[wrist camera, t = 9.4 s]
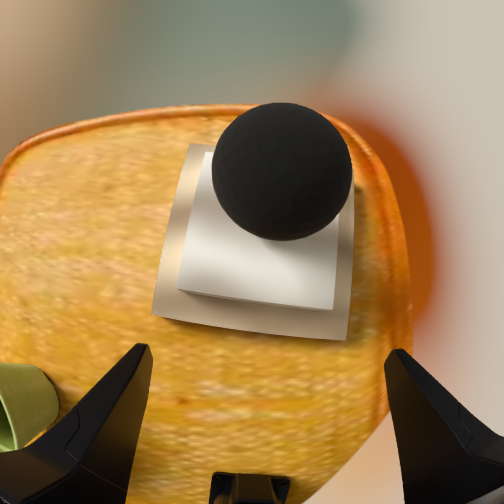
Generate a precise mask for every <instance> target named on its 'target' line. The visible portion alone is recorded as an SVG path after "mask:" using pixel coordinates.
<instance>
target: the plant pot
mask: <svg viewBox="0 0 504 504" xmlns="http://www.w3.org/2000/svg"><path fill="white" fill-rule="evenodd" d="M58 413H59V402H58V397H57V394H56V391H55V389H54V386H53V385H52V383H51V382H50V381H49V380H48V379H47V378H46V376H45V375H44V373H43V371H42V370H40V369H39V368H38V367H36V366H33V365H26V364H12V363H0V452H6V451H12V450H18V449H22V448H24V446H25V445H26V444H27V443H28V442H29V441H31V440H32V439H33V438H34V437H35V436H37V435H38V434H39V433H40V432H41V431H43V430H44V429H45V428H46V427H48V426H49V425H50V424H52V423H53V422H54V421H55V419H56V417H57V416H58Z"/></svg>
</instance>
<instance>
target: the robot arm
mask: <svg viewBox="0 0 504 504" xmlns="http://www.w3.org/2000/svg"><path fill="white" fill-rule="evenodd" d="M152 366H153V357H152V354H151V351H150V347H149V345H148V344H144V343H137V344H135V345H134V346H133V347H132V348H131V349H130V350H129V351H128V352H127V353H126V354H125V355H124V356H123V357H122V358H121V359H120V360H119V361H118V362H117V363H116V364H115V365H114V366H113V367H112V368H111V369H110V370H109V371H108V372H107V373H106V374H105V375H104V376H103V377H102V378H101V379H100V380H99V381H98V382H97V384H96V385H95V386H94V387H93V388H92V389H91V390H90V391H89V392H88V393H87V394H86V395H85V396H84V397H83V398H82V399H81V400H80V401H79V402H78V403H77V405H75V406H74V407H73V408H72V409H71V410H70V411H69V412H68V413H67V414H66V415H65V416H64V417H63V418H62V419H61V420H60V421H59V422H57V423H56V424H55V425H54V426H53V427H52V428H50V429H49V430H48V431H47V432H45V433H44V434H43V435H42V436H40V437H39V438H38V439H37V440H35V441H34V442H33V443H31V444H30V445H28V446H27V447H24V448H22V449H18V450H12V451H6V452H0V504H125V502H126V496H127V490H128V484H129V479H130V474H131V469H132V464H133V460H134V455H135V450H136V446H137V442H138V437H139V433H140V429H141V425H142V420H143V416H144V412H145V408H146V405H147V400H148V394H149V386H150V379H151V372H152ZM384 371H385V378H386V386H387V395H388V401H389V406H390V411H391V415H392V420H393V425H394V430H395V436H396V441H397V447H398V453H399V459H400V466H401V474H402V481H403V491H404V501H405V504H504V437H502V436H500V435H498V434H496V433H494V432H493V431H492V430H491V429H490V428H488V427H487V426H486V425H485V424H483V423H482V422H481V421H480V420H478V419H477V418H476V417H475V416H474V415H473V414H471V413H470V412H469V411H468V410H467V409H466V408H465V407H464V406H463V405H462V404H461V403H460V402H458V400H457V399H456V398H455V397H454V396H452V394H450V393H449V392H448V391H447V390H446V389H445V388H444V387H443V386H442V385H441V384H440V383H439V382H438V381H437V380H436V379H435V378H434V377H433V376H432V375H431V374H429V373H428V372H427V371H426V370H425V369H424V368H423V367H422V366H421V365H420V364H419V363H418V362H417V361H416V360H415V359H413V358H412V357H411V356H410V355H409V354H408V353H407V352H406V351H405V350H404V349H402V348H399V349H393V350H392V351H391V353H390V354H389V356H388V357H387V359H386V361H385V363H384ZM216 476H220V477H221V478H216ZM283 481H286V482H285V483H282V482H283ZM289 486H290V479H289V478H288V477H281V476H268V475H253V474H241V473H239V474H233V473H225V472H214V473H213V475H212V481H211V489H210V497H209V504H285V501H286V497H287V494H288V490H289Z"/></svg>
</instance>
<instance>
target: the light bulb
mask: <svg viewBox="0 0 504 504" xmlns="http://www.w3.org/2000/svg"><path fill="white" fill-rule="evenodd" d="M211 167H212V183H213V188H214V191H215V194H216V197H217V199H218V201H219V203H220V205H221V207H222V208H223V210H224V211H225V212H226V214H227V215H228V216H229V217H230V218H231V219H232V221H233V222H234V223H236V224H237V225H238V226H239V227H241V228H242V229H244V230H245V231H247V232H249V233H251V234H253V235H255V236H257V237H258V238H260V239H264V240H274V241H293V240H297V239H302V238H306V237H308V236H310V235H312V234H314V233H316V232H318V231H320V230H322V229H323V228H325V227H326V226H327V225H329V224H330V223H331V222H332V221H333V220H334V219H335V218H336V216H337V215H338V213H339V212H340V211H341V209H342V208H343V207H344V205H345V203H346V201H347V199H348V196H349V192H350V188H351V183H352V163H351V158H350V154H349V151H348V148H347V144H346V143H345V141H344V139H343V138H342V136H341V135H340V133H339V131H338V130H337V129H336V128H335V127H334V126H333V125H332V123H331V122H330V121H328V120H327V119H326V118H325V117H323V116H322V115H321V114H319V113H317V112H316V111H314V110H312V109H309V108H307V107H303V106H301V105H298V104H293V103H270V104H265V105H260V106H258V107H255V108H252V109H250V110H248V111H246V112H245V113H243V114H242V115H240V116H238V117H237V118H236V119H235V120H234V121H233V122H232V123H231V124H230V125H229V126H228V127H227V128H226V129H225V131H224V132H223V133H222V135H221V137H220V139H219V141H218V143H217V145H216V148H215V151H214V154H213V158H212V165H211Z"/></svg>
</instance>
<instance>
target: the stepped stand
mask: <svg viewBox="0 0 504 504" xmlns="http://www.w3.org/2000/svg"><path fill="white" fill-rule="evenodd" d="M215 148H216V146H212V145H201V144H189V148H188V151H187V154H186V158H185V161H184V165H183V168H182V172H181V175H180V179H179V183H178V186H177V190H176V194H175V198H174V202H173V206H172V210H171V214H170V218H169V223H168V227H167V232H166V236H165V241H164V245H163V250H162V255H161V260H160V265H159V270H158V276H157V281H156V287H155V292H154V298H153V305H152V311H151V315H156V316H161V317H166V318H171V319H176V320H182V321H187V322H193V323H198V324H204V325H210V326H217V327H223V328H230V329H237V330H244V331H251V332H259V333H267V334H276V335H285V336H295V337H306V338H318V339H331V340H346V336H347V327H348V318H349V308H350V297H351V284H352V268H353V245H354V174H353V169H352V183H351V188H350V192H349V196H348V199H347V201H346V203H345V205H344V207H343V208H342V209H341V211H340V212H339V213H338V215H337V216H336V218H335V219H334V220H333V221H332V222H331V223H330V224H329V225H327V226H326V227H325V228H323V229H322V230H320V231H318V232H316V233H314V234H312V235H310V236H308V237H306V238H302V239H297V240H293V241H274V240H264V239H260V238H258V237H257V236H255V235H253V234H251V233H249V232H247V231H245V230H244V229H242V228H241V227H239V226H238V225H237V224H236V223H234V222H233V221H232V219H231V218H230V217H229V216H228V215H227V214H226V212H225V211H224V210H223V208H222V207H221V205H220V203H219V201H218V199H217V197H216V194H215V191H214V188H213V183H212V167H211V165H212V158H213V154H214V151H215Z"/></svg>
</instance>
